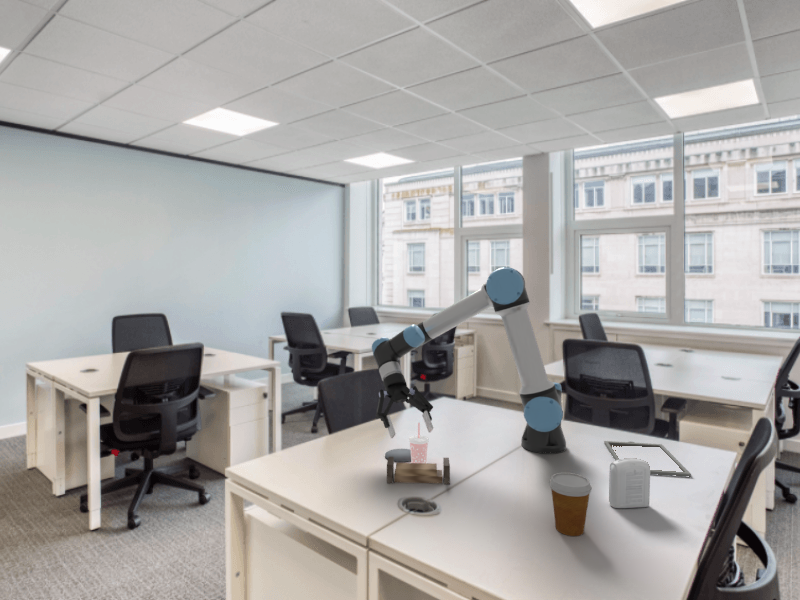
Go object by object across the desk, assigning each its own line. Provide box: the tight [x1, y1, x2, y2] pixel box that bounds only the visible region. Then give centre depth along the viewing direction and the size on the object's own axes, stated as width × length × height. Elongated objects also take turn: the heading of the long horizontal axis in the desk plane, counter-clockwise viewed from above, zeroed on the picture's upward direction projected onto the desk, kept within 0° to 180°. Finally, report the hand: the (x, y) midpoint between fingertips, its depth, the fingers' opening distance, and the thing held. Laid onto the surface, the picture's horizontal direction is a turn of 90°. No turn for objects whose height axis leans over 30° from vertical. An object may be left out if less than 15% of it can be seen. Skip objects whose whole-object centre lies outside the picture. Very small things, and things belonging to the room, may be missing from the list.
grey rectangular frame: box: [603, 440, 692, 478], centre depth 163 cm, size 19×2×30 cm
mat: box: [384, 448, 411, 463], centre depth 165 cm, size 11×11×1 cm
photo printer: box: [608, 458, 651, 509], centre depth 128 cm, size 10×4×12 cm, turn 98°
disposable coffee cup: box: [548, 472, 593, 537], centre depth 116 cm, size 10×10×12 cm
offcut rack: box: [386, 457, 451, 485], centre depth 145 cm, size 18×6×6 cm, turn 87°
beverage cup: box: [408, 422, 429, 463], centre depth 155 cm, size 6×6×14 cm
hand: (412, 433), depth 157 cm, fingers open, 13 cm apart
